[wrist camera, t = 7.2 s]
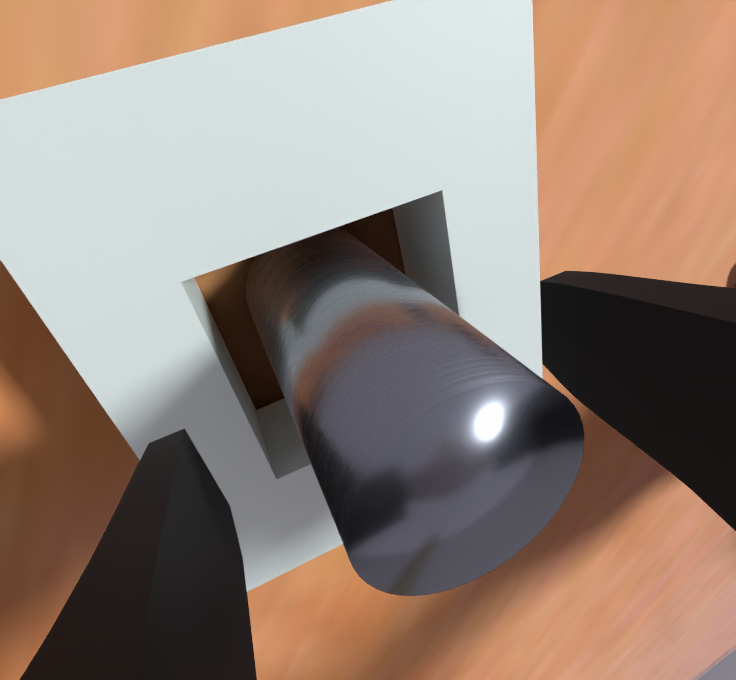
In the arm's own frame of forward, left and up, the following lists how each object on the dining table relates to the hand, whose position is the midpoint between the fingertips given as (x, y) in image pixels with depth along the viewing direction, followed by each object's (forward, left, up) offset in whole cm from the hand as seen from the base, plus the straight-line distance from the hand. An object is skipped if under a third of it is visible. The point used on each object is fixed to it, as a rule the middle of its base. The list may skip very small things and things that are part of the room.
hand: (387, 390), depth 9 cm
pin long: (0, 0, -5) cm, 5 cm away
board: (0, 0, -5) cm, 5 cm away
